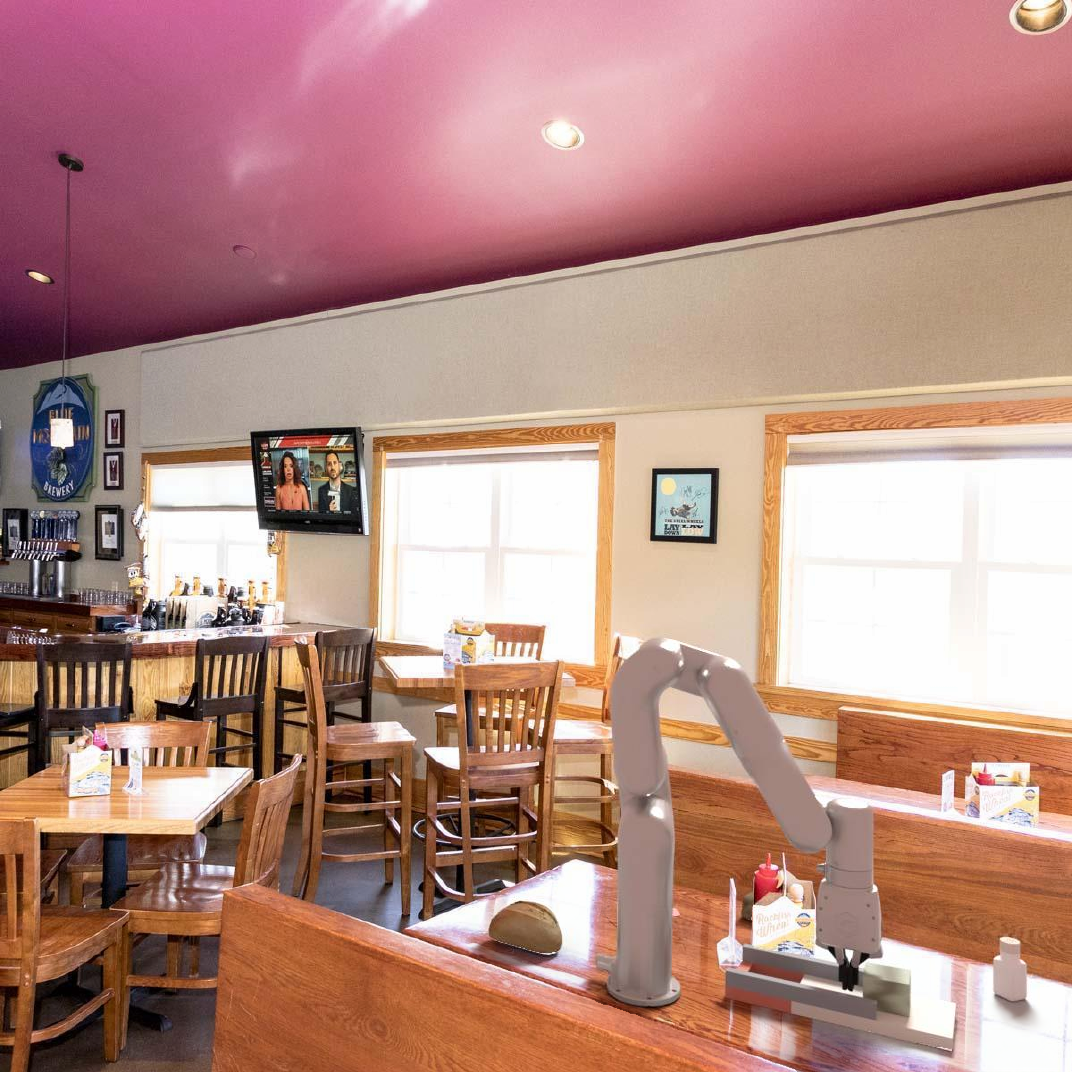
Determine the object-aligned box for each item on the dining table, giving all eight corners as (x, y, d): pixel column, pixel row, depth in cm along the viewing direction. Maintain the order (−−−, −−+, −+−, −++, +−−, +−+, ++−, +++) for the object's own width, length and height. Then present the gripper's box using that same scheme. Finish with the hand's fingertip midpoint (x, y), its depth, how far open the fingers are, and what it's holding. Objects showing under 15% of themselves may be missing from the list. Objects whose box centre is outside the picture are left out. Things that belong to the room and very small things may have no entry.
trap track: (725, 997, 153) (725, 970, 153) (744, 968, 164) (744, 943, 164) (952, 1051, 137) (952, 1021, 137) (955, 1015, 148) (956, 987, 148)
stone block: (792, 933, 181) (793, 908, 182) (738, 920, 188) (738, 896, 188) (802, 925, 186) (802, 900, 186) (749, 912, 193) (749, 888, 193)
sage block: (862, 1007, 146) (862, 976, 146) (865, 992, 151) (865, 962, 152) (909, 1017, 143) (909, 984, 143) (910, 1001, 148) (910, 970, 149)
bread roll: (501, 931, 179) (502, 890, 179) (571, 945, 173) (572, 903, 173) (479, 949, 170) (480, 906, 170) (552, 964, 164) (553, 920, 165)
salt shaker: (1012, 1003, 153) (1012, 946, 153) (991, 993, 157) (991, 937, 157) (1028, 999, 155) (1028, 943, 155) (1007, 989, 158) (1007, 934, 159)
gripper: (799, 874, 151) (798, 986, 150) (895, 890, 144) (894, 1007, 143) (807, 862, 157) (806, 969, 157) (899, 877, 151) (898, 989, 150)
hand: (848, 987), depth 150 cm, fingers closed
